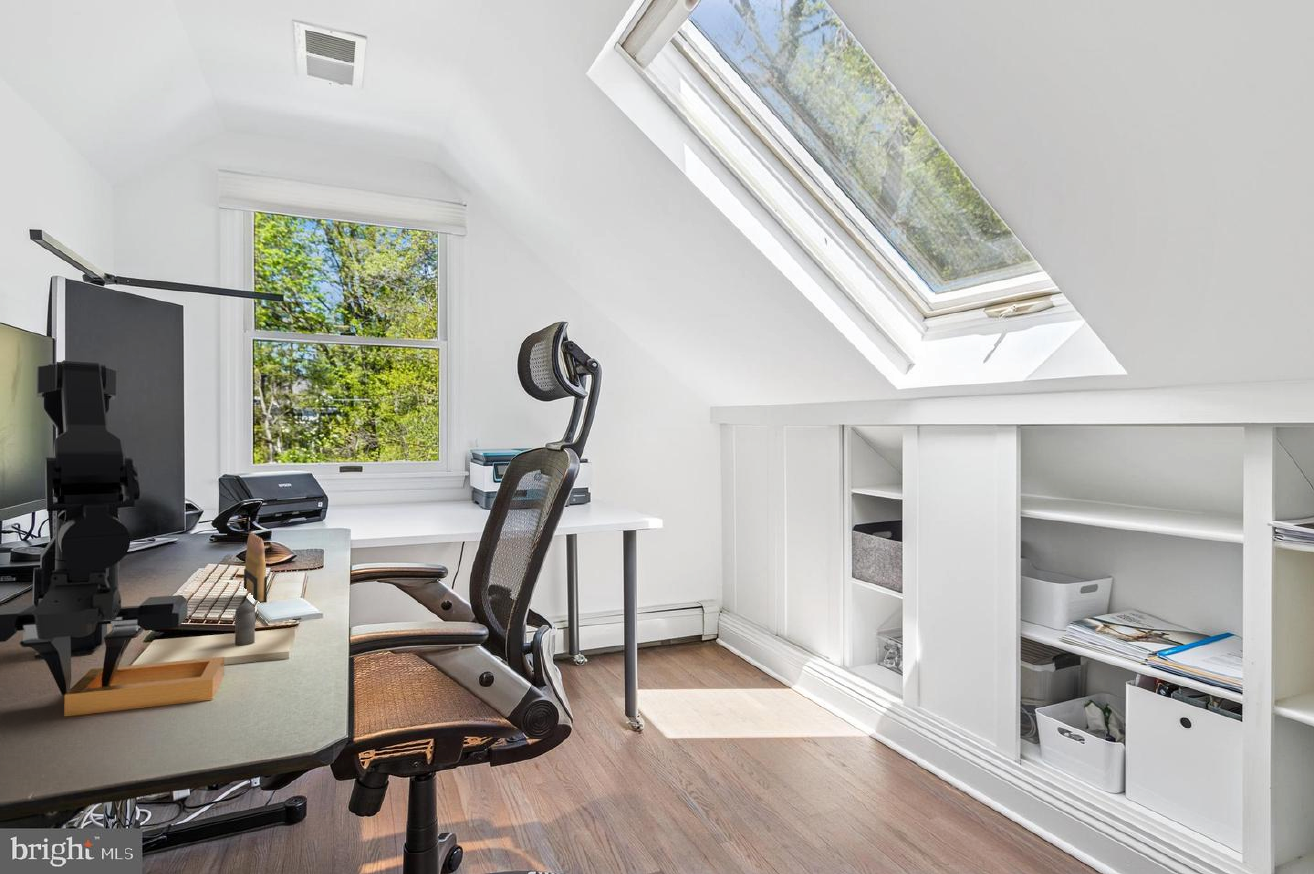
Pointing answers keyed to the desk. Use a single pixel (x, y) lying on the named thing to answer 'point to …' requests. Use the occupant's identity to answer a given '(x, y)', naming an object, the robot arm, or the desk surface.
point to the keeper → (225, 644)
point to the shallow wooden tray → (146, 686)
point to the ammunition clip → (255, 569)
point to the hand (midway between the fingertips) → (85, 692)
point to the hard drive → (288, 610)
